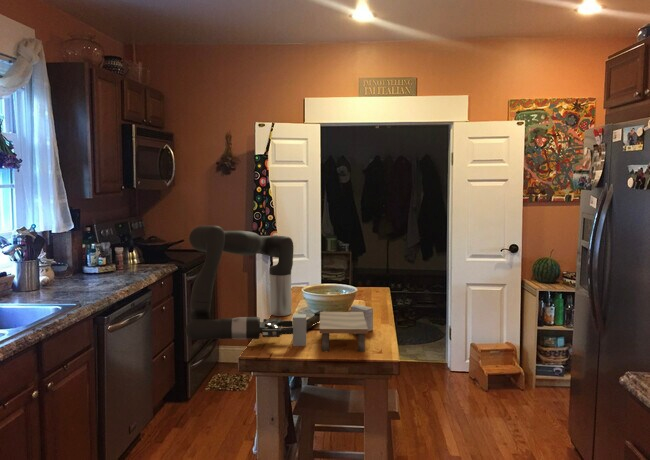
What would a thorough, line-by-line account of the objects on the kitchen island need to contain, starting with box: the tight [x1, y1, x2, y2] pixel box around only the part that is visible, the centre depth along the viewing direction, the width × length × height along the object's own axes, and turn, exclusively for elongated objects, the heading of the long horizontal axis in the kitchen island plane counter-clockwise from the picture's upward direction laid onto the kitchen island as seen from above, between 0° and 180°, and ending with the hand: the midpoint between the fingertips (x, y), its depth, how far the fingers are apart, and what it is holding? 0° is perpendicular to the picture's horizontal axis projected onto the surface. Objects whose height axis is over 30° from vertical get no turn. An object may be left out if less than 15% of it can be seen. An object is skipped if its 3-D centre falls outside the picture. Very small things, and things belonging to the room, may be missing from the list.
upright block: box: [292, 313, 307, 347], centre depth 182 cm, size 4×4×10 cm
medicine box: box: [350, 304, 374, 332], centre depth 200 cm, size 8×4×9 cm, turn 43°
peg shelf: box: [319, 311, 369, 353], centre depth 184 cm, size 22×16×8 cm
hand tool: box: [306, 310, 324, 332], centre depth 204 cm, size 19×4×5 cm, turn 152°
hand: (292, 327), depth 182 cm, fingers open, 8 cm apart
